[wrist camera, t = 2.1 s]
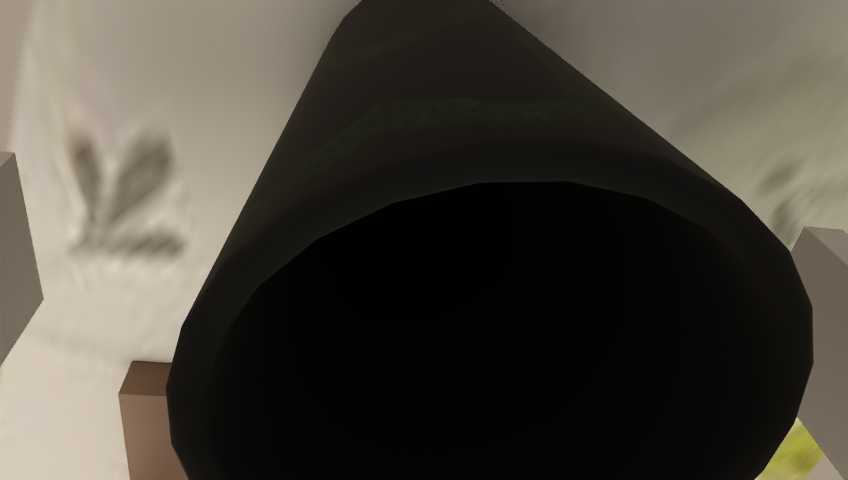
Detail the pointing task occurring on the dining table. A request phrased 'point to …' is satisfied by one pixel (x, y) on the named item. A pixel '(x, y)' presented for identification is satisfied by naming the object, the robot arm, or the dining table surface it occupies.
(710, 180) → the cup
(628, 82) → the dining table surface
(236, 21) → the dining table surface
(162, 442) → the stub board
